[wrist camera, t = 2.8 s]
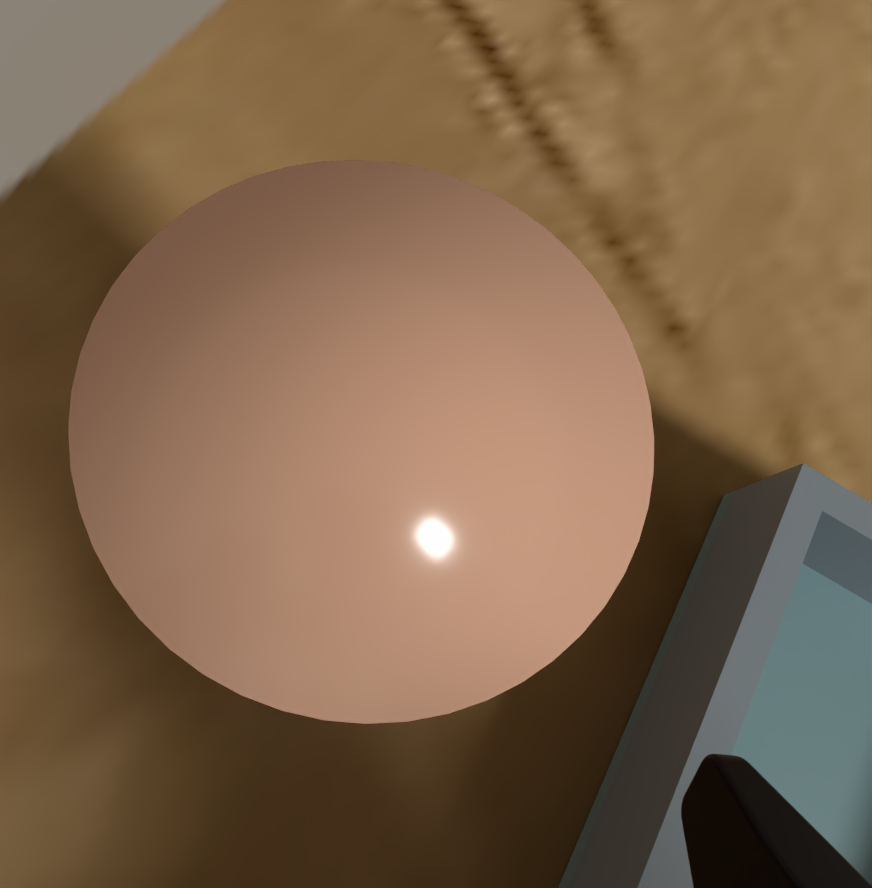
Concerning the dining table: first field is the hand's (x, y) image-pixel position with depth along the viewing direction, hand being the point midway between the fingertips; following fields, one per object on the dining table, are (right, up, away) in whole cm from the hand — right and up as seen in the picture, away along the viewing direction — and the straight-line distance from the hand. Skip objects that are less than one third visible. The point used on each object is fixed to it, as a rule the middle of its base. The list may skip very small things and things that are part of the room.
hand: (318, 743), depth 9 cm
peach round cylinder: (-1, 0, +10) cm, 10 cm away
